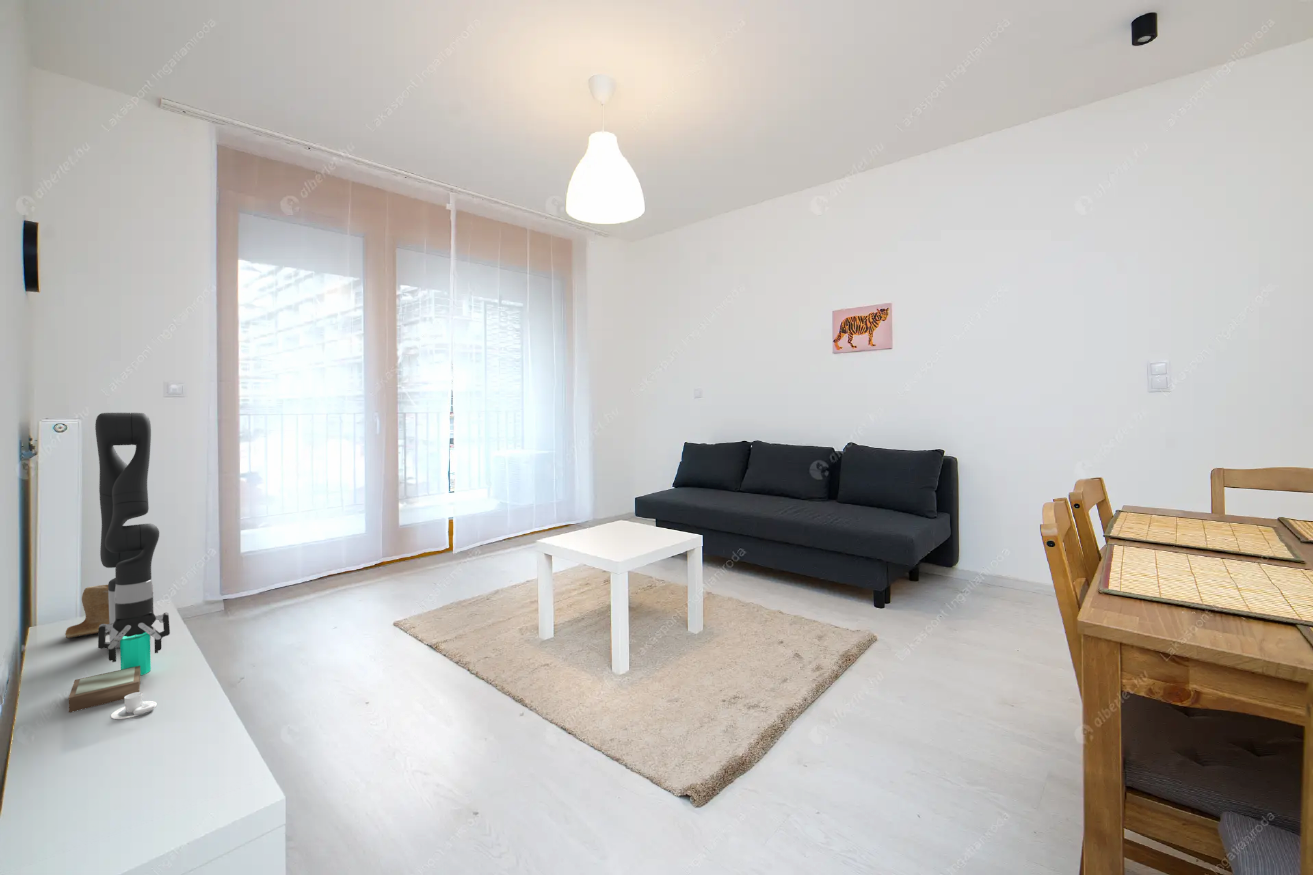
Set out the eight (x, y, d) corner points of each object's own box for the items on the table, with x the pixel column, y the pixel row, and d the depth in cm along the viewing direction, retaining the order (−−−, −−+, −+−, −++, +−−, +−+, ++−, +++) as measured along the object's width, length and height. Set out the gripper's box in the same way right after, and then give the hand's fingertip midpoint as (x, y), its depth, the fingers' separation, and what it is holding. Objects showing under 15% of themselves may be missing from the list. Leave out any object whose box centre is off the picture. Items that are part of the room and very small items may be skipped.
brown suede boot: (129, 619, 186) (128, 576, 186) (133, 628, 178) (132, 584, 178) (64, 632, 175) (63, 586, 174) (65, 643, 167) (64, 595, 166)
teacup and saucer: (158, 712, 129) (158, 695, 129) (111, 726, 123) (111, 708, 123) (155, 699, 135) (154, 683, 135) (110, 712, 129) (109, 695, 129)
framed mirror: (75, 693, 137) (74, 678, 137) (140, 678, 145) (140, 664, 145) (68, 712, 128) (68, 697, 128) (139, 695, 136) (138, 680, 136)
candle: (157, 668, 151) (156, 626, 150) (134, 678, 145) (133, 634, 144) (137, 667, 151) (136, 625, 151) (114, 677, 145) (113, 633, 145)
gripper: (169, 589, 155) (170, 645, 155) (97, 600, 145) (99, 659, 146) (169, 595, 149) (170, 653, 150) (95, 607, 140) (96, 669, 140)
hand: (135, 656), depth 148 cm, fingers open, 8 cm apart
